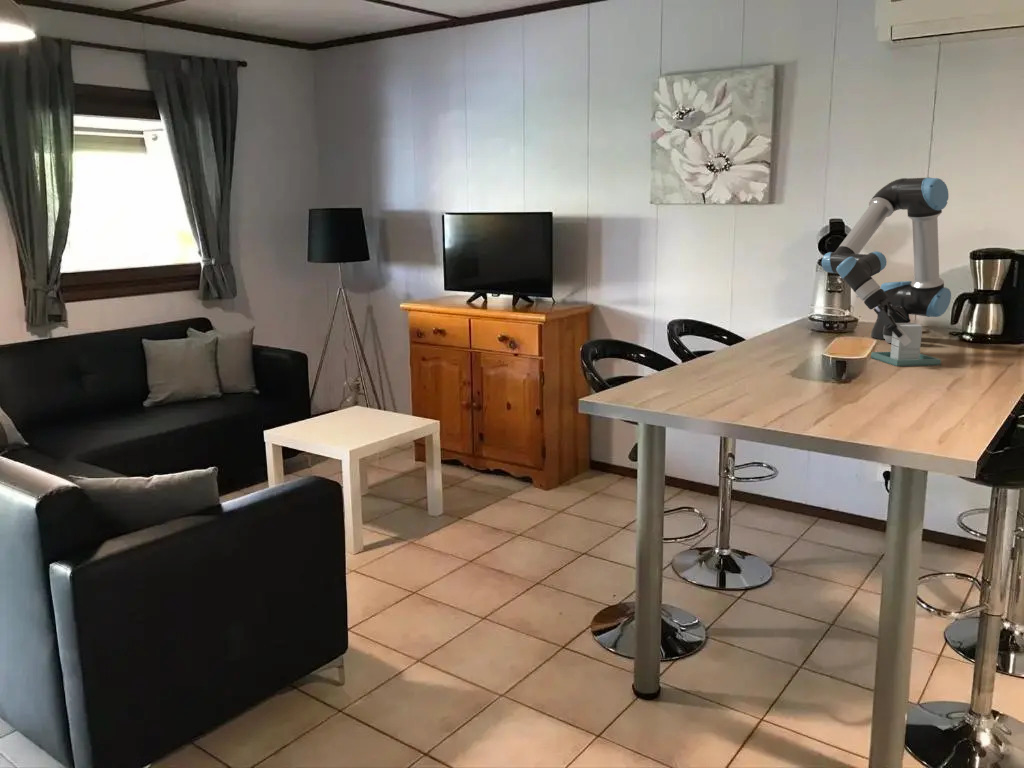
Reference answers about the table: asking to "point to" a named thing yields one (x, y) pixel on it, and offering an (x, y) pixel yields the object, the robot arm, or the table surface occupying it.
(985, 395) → the table surface
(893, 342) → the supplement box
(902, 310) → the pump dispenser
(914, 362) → the tray
